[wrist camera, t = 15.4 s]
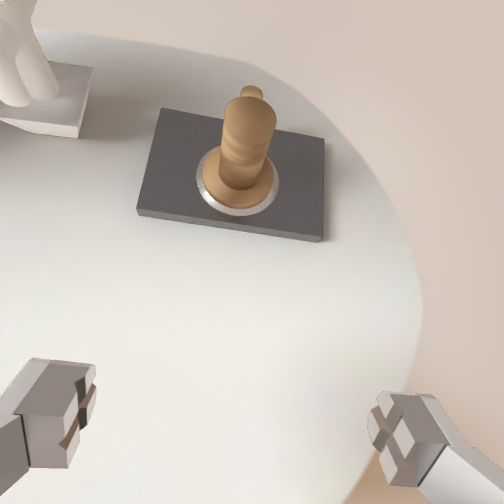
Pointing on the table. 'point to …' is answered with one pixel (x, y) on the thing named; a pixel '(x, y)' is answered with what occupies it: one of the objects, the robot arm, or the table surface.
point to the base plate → (215, 214)
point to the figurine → (37, 79)
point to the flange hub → (242, 155)
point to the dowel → (252, 92)
